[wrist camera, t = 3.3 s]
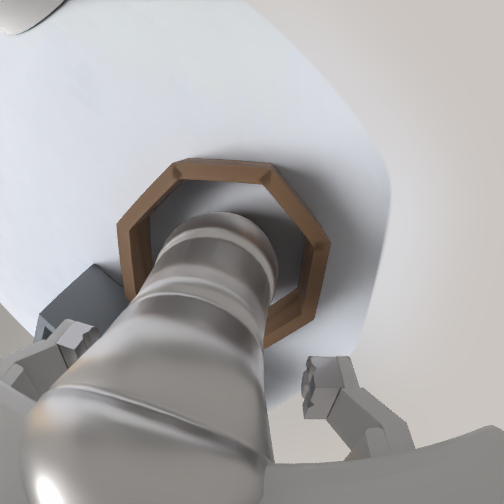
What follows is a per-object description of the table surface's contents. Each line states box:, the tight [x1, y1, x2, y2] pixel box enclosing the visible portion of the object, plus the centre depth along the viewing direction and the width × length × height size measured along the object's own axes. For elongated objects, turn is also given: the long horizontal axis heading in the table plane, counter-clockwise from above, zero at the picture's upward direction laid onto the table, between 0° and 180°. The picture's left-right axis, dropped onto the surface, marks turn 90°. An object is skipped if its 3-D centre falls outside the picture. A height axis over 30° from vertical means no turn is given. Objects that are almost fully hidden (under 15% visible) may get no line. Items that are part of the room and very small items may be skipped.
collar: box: [117, 158, 331, 349], centre depth 17 cm, size 12×12×3 cm
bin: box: [34, 264, 130, 343], centre depth 19 cm, size 14×11×7 cm
